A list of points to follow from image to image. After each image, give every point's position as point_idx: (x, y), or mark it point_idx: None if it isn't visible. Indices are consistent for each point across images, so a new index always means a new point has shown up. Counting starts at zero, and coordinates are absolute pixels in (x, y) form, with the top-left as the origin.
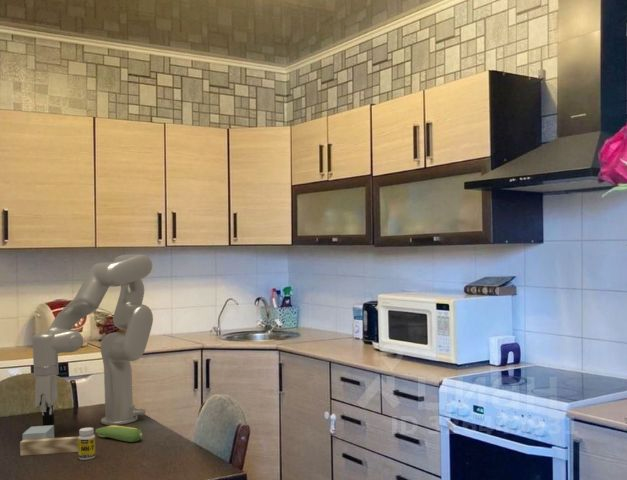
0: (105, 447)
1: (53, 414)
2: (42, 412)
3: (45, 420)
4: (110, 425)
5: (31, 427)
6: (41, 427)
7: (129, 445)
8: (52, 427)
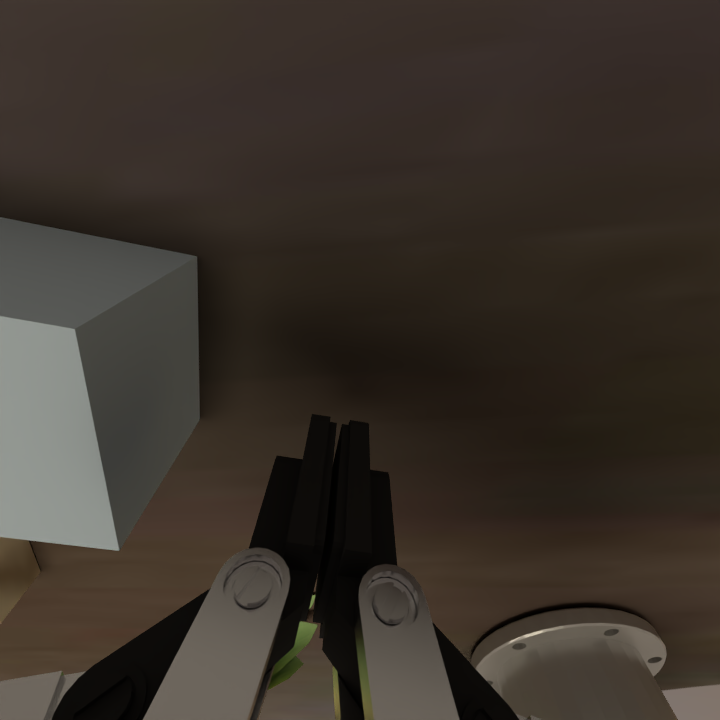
0: (65, 611)
1: (320, 630)
2: (191, 625)
3: (262, 506)
4: None
5: (9, 337)
6: (11, 455)
7: (91, 663)
8: (59, 533)
